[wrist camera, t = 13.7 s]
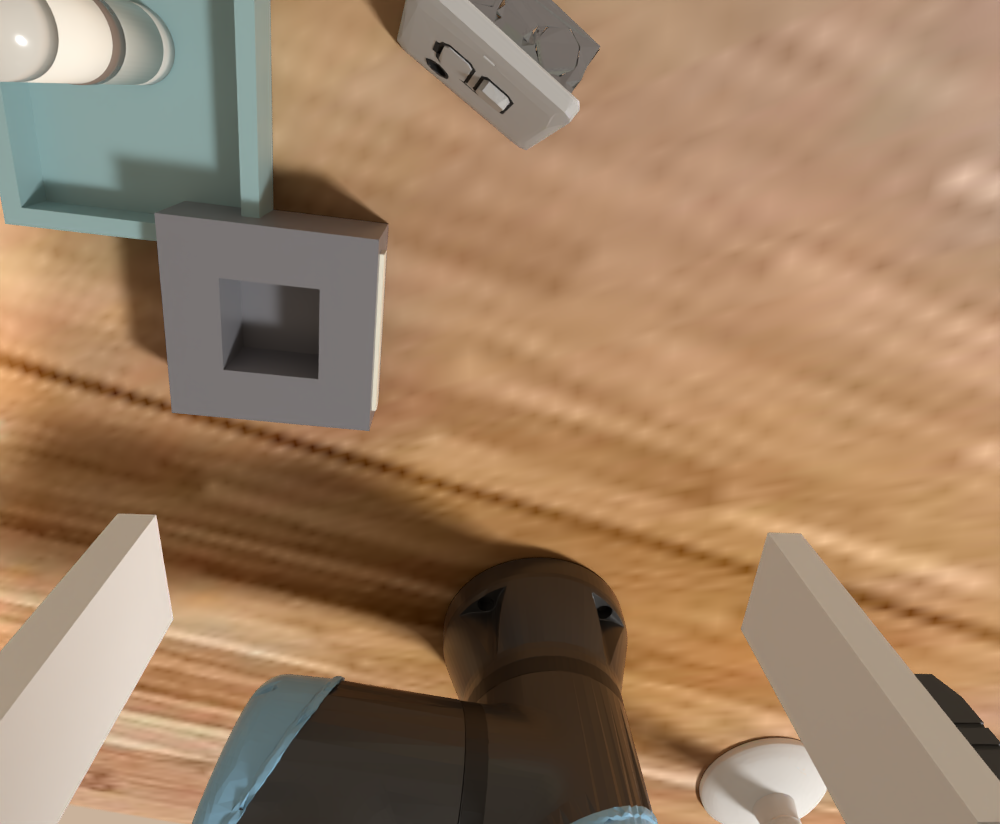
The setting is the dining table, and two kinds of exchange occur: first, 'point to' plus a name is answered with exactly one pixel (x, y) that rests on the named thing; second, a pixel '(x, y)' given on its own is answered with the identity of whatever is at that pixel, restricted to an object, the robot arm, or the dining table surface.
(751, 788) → the candlestick
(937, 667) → the dining table surface
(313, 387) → the fuse holder
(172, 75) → the parts tray
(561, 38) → the electrical switch
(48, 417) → the dining table surface
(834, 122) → the dining table surface
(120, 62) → the cylinder
